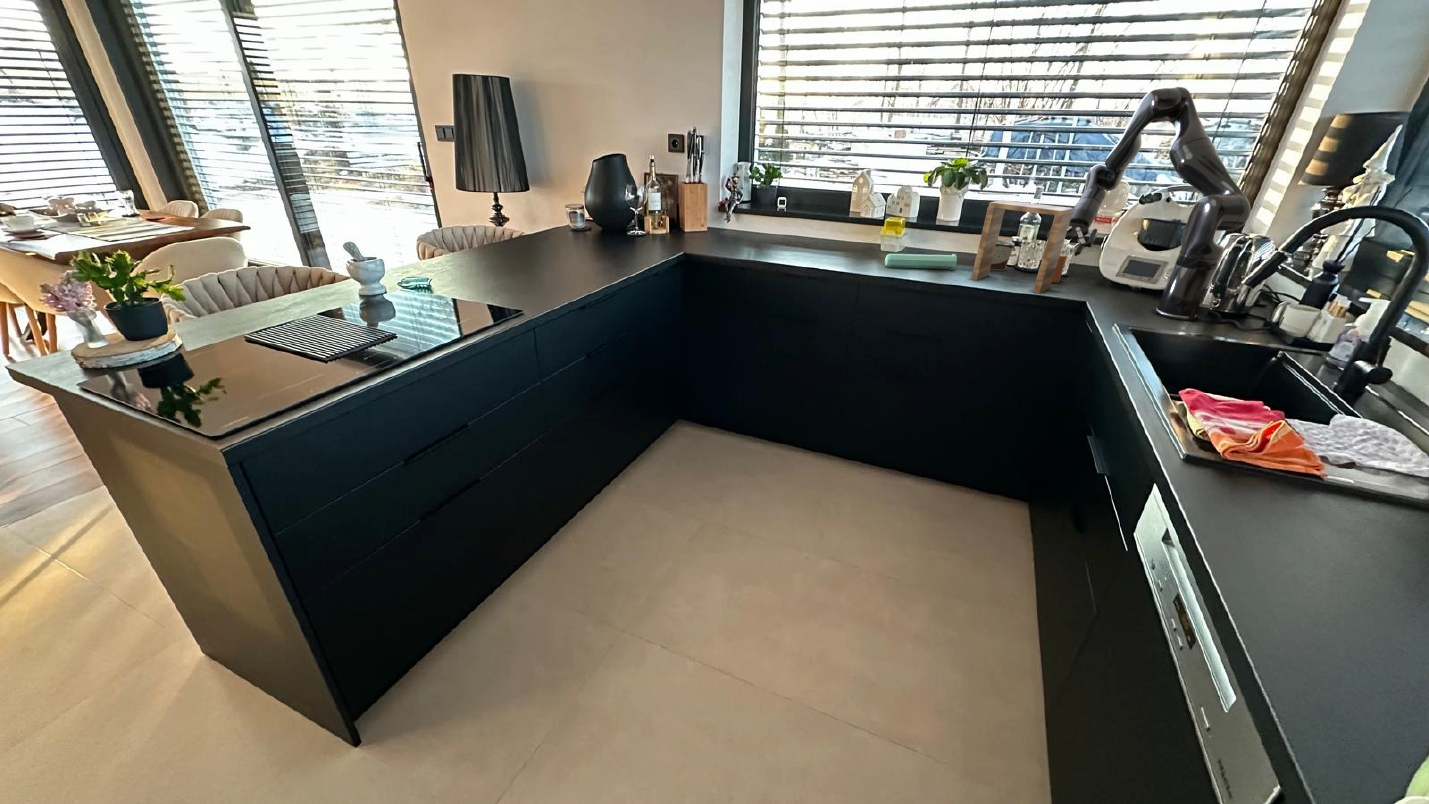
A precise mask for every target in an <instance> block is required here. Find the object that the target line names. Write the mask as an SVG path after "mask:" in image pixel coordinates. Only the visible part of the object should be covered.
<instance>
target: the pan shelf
mask: <svg viewBox="0 0 1429 804" xmlns="http://www.w3.org/2000/svg"><path fill="white" fill-rule="evenodd" d="M1073 209H1074V207H1068V206H1059V205H1050V204H1042V203H1041V204H1040V203H1033V202H1032V203H1031V202H1024V201H1023V202H1022V201H1013V200H1006V199H1005V200H1004V199H1000V200H995V201H991V202H989V205H988V206H987V210H986V215H985V218H984V223H983V227H982V230H981V234H980V235H981V236H980V240H979V244H978V248H977V252H976V256H975V261H974V265H973V269H972V274H971V278H970V280H973V281H979V280H982V279H984V278H987V277H989V275H990V271H991V270H990V268H991V264H992V260H993V256H994V252H995V248H996V244H997V240H999V236H1000V231H1001V228H1002V224H1003V220H1004V216H1005V211H1006V210H1009V211H1017V212H1023V213H1024V212H1025V213H1033V214H1041V215H1042V214H1043V215H1050V216H1054V218H1053V221H1052V225H1051V227H1050V229H1051V231H1050V230H1049V231H1050V235H1049V238H1048V241H1047V240H1046V245H1045V248H1044V252H1043V255H1042V259H1041V262H1040V265H1039V269H1038V272H1037V276H1036V279H1035V283H1034V287H1033V290H1032V293H1035V294H1041V293H1044V292H1046V291H1047V290H1049V289H1050V288H1051V286H1052V283H1053V282H1052V279H1053V276H1054V273H1055V269H1056V266H1057V263H1058V259H1059V256H1060V254H1062V250H1063V246H1064V243H1065V240H1066V239H1065V237H1066V233H1067V230H1068V227H1069V223H1070V220H1071V217H1072V214H1073V213H1072V211H1073Z"/></svg>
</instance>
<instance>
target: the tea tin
mask: <svg viewBox="0 0 1429 804" xmlns="http://www.w3.org/2000/svg"><path fill="white" fill-rule="evenodd" d="M1067 258H1068V255H1067V254H1065V253H1060V256H1059V259H1058V263H1057V266H1056V269H1055V273H1054V276H1053V279H1052V282H1051V283H1054V284H1055V283H1059V282H1060V280H1061V278H1062V274H1063V271H1064V268H1065V265H1066V261H1067Z"/></svg>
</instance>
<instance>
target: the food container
mask: <svg viewBox="0 0 1429 804" xmlns="http://www.w3.org/2000/svg"><path fill="white" fill-rule="evenodd" d="M1015 249H1016V245H1015V242H1013V241H1009V240H1002V239H998V240H997V244H996V248H995V252H994V256H993V260H992V264H991V268H990V271H1003V272H1004V271H1006V269H1007V268H1006V267H1007V265H1008V263H1009V260H1010V257H1011V254H1012V252H1013V251H1014V250H1015Z"/></svg>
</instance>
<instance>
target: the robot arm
mask: <svg viewBox="0 0 1429 804" xmlns="http://www.w3.org/2000/svg"><path fill="white" fill-rule="evenodd" d="M1165 122H1166V123H1167V122H1169V123H1171V125H1172V126H1173V128H1174V130H1175V136H1174V138H1173V140H1172V143H1171V146H1170V147H1169V152H1168V157H1169V159H1170V160H1169V161H1170V162H1171V164H1172V166H1173V168H1174V170H1175V172H1176V174H1177V176H1178V177H1180V178H1181V179H1182V180H1183V181H1184V182H1186V183H1187V184H1189V186H1192V187H1193V188H1194V189H1196V190H1197V191H1199V192H1200V193H1201V194H1202V195H1203V196H1202V197H1201V198H1199V199H1198V200H1197V201H1196V203H1195V204H1194V205H1193V207H1192V209H1191V211H1190V212H1189V215H1188V218H1187V222H1186V225H1185V227H1184V231H1183V233H1182V235H1181V239H1180V240H1181V241H1180V250H1179V253H1178V255H1177V257H1176V259H1175V262H1174V265H1173V268H1172V270H1171V273H1170V275H1169V278H1168V280H1167V281H1166V284H1165V288H1164V290H1163V293H1162V295H1161V297H1160V300H1159V302H1158V304H1157V307H1156V308H1155V310H1154V311H1155V314H1157V315H1158V316H1159V315H1160V316H1161V317H1165V318H1169V319H1174V320H1181V321H1190V322H1193V321H1194V320H1195V319H1196V318H1197V317H1198V316H1202V317H1206V316H1207V315H1208V314H1211V315H1214V316H1215V317H1216V322H1217V323H1219V324H1226V323H1231V324H1234V325H1236V327H1237V329H1239V330H1243V331H1248V332H1261V331H1269V330H1268V329H1270V327H1271V326H1263V327H1247V326H1243V325H1241V323H1240V322H1239V321H1237V320H1234V319H1223V320H1222V315H1221V314H1220V313H1218V312H1217V311H1214V310H1212V309H1211V307H1212V304H1207V303H1204V301H1205V298H1206V296H1207V294H1208V291H1209V289H1210V287H1211V282H1212V280H1213V278H1214V275H1215V273H1216V270H1217V269H1218V266H1219V264H1220V262H1221V260H1222V258H1223V256H1224V253H1225V247H1223V246H1222V245H1220V244H1217V243H1216V242H1215V235H1216V232H1217V231H1218V232H1226V231H1235V230H1238V229H1240V228H1241V227H1243V226H1244V225H1245V224H1246V223H1247V222H1248V220H1249V218H1250V215H1251V204H1250V201H1249V200H1248V198H1247V196H1246V194H1245V193H1244V192H1243V191H1242V189H1241V188H1240V186H1238V184H1237V183H1236V182H1235V181H1234V178H1232V177H1231V175H1230V173H1229V172H1228V169H1227V168H1226V166H1225V165H1224V162H1223V161H1222V159H1221V157H1220V156H1219V153H1218V152H1217V149H1216V147H1215V145H1214V143H1213V142H1212V140H1211V139H1210V137H1209V135H1208V133H1207V131H1206V130H1205V127H1204V126H1203V123H1202V121H1201V119H1200V116H1199V114H1198V111H1197V108H1196V105H1195V101H1194V99H1193V97H1192V94H1191V92H1190V91H1189V89H1188V88H1186V87H1184V86H1169V87H1159V88H1155V89H1152V90H1150V91H1148V92H1147V93H1146V94H1145V96H1144V97H1143V98H1142V100H1141V101H1140V102H1139V104H1138V106H1137V108H1136V109H1135V111H1134V113H1133V115H1132V116H1131V119H1130V120H1129V123H1128V125H1127V127H1126V129H1125V130H1124V132H1123V134H1122V136H1121V137H1120V139H1119V141H1118V142H1117V143H1116V145H1115V146H1114V147H1113V148H1112V150H1111V152H1109V154H1108V155H1107V157H1106V158H1105V159H1104V164H1102V163H1097V164H1095V165H1094V166H1092V167H1091V168H1090V169H1089V171H1088V172H1087V174H1086V177H1085V184H1084V190H1083V192H1082V195H1081V196H1080V198H1079V200H1078V201H1077V202H1076V204H1075V206H1074V207H1073V211H1072V213H1073V214H1072V217H1071V220H1070V223H1069V227H1068V230H1067V233H1066V237H1065V240H1070V241H1074V242H1075V241H1077V242H1078V245H1077V247H1076V249H1075V251H1074V257H1078V256H1080V255H1081V254H1082V252H1083V250H1084V248H1092V247H1093V245H1094V242H1095V240H1096V238H1097V236H1098V229H1097V228H1093V229H1090V228H1091V226H1092V224H1093V222H1094V220H1095V219H1096V217H1097V216H1098V213H1099V211H1100V208H1101V206H1102V204H1103V202H1104V201H1105V200H1106V197H1107V192H1109V191H1110V192H1111V191H1113V190H1115V189H1116V188H1117V187H1118V186H1119V185H1120V184H1121V181H1122V180H1123V177H1124V173H1125V171H1126V169H1127V167H1128V166H1129V165H1130V164H1131V163H1132V161H1133V160H1134V159H1135V158H1136V156H1137V155H1138V154H1139V152H1140V150H1141V147H1142V132H1143V130H1144V129H1145V128H1146V127H1147V126H1148V125H1149V124H1155V123H1165ZM1106 191H1107V192H1106ZM1050 231H1051V228H1050V229H1049V231H1048V232H1047V234H1046V242H1047V241H1048V238H1049V235H1050ZM1087 235H1088V236H1089V238H1088V240H1085V237H1086V236H1087Z"/></svg>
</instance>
